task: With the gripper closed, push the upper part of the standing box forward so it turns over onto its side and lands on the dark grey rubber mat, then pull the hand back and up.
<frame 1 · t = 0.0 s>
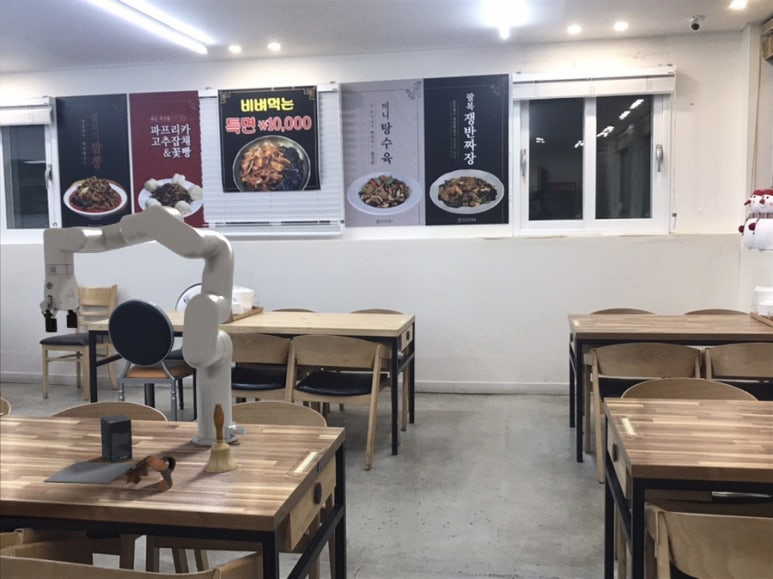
hand: (62, 330, 182), 31 cm above the table, tool pointing down, fingers open, 9 cm apart
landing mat: (92, 473, 153), on the table
hand bell: (220, 468, 157), on the table
box: (117, 458, 165), on the table
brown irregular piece: (154, 486, 145), on the table
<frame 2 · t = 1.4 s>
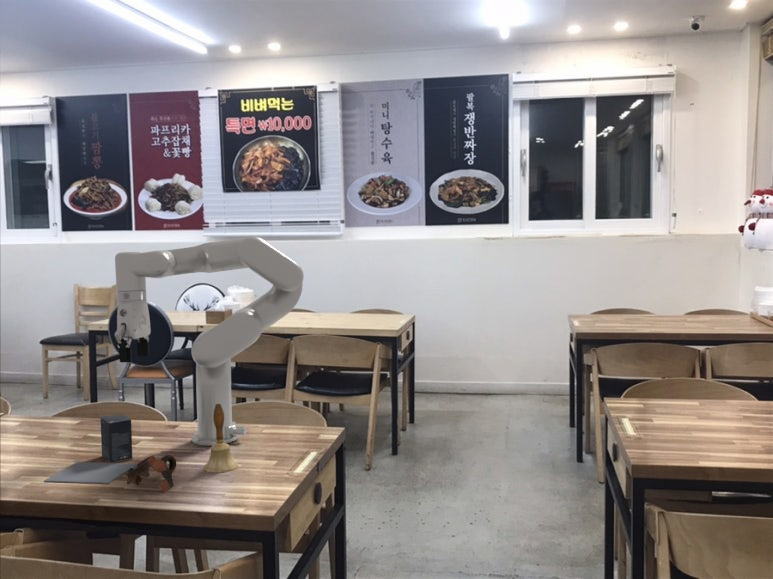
hand: (134, 358, 174), 24 cm above the table, tool pointing down, fingers open, 9 cm apart
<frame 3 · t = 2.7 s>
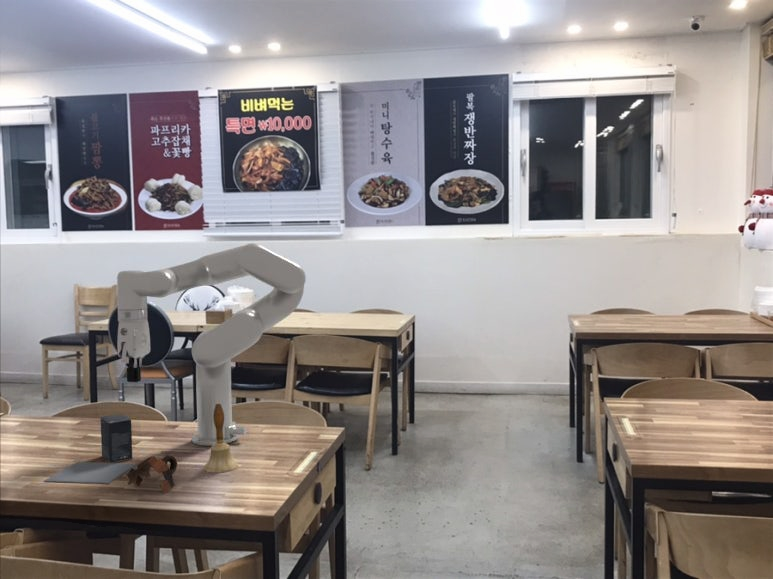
hand: (133, 381, 174), 18 cm above the table, tool pointing down, fingers closed
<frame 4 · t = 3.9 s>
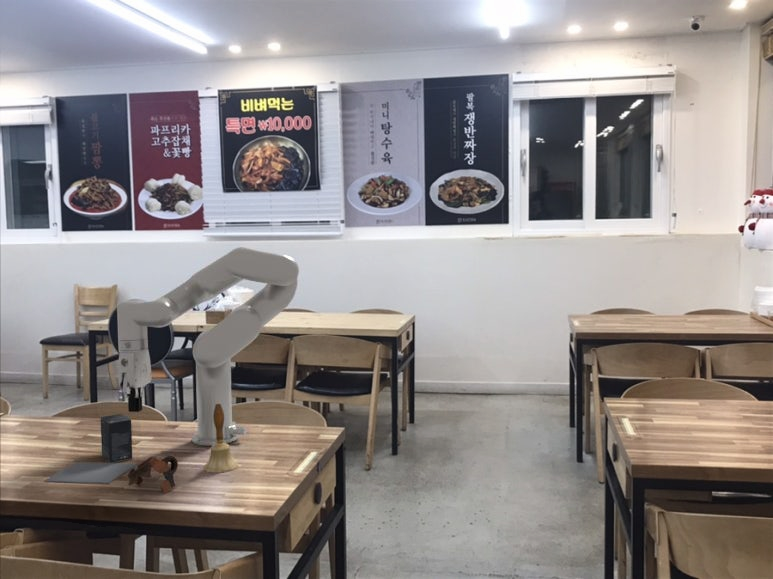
hand: (135, 410, 174), 10 cm above the table, tool pointing down, fingers closed
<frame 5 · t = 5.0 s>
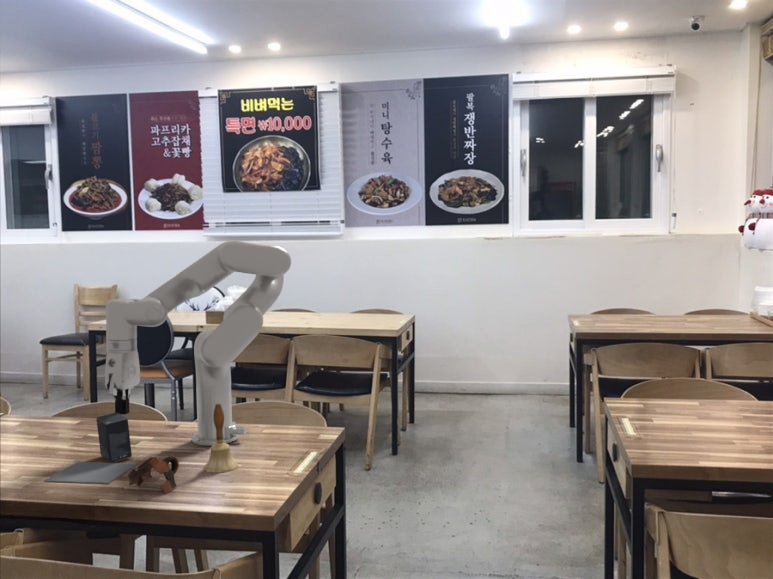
hand: (122, 413, 169), 10 cm above the table, tool pointing down, fingers closed
box: (116, 457, 165), on the table, touching gripper
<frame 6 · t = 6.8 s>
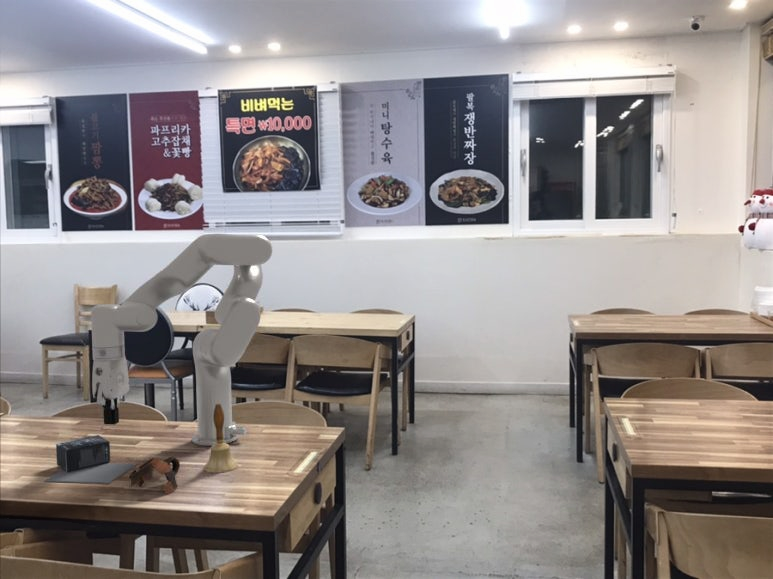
hand: (111, 423, 162), 10 cm above the table, tool pointing down, fingers closed
box: (105, 447, 163), point 3 cm above the table, touching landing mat
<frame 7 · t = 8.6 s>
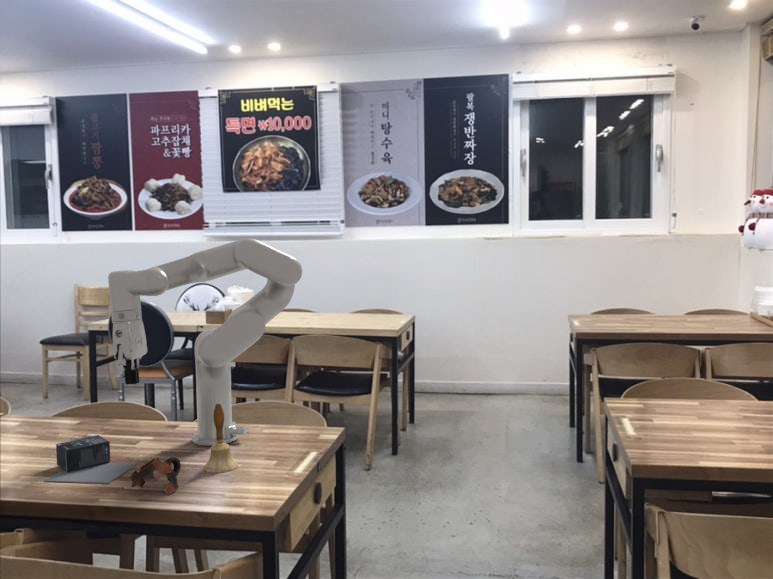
hand: (132, 383, 171), 18 cm above the table, tool pointing down, fingers closed
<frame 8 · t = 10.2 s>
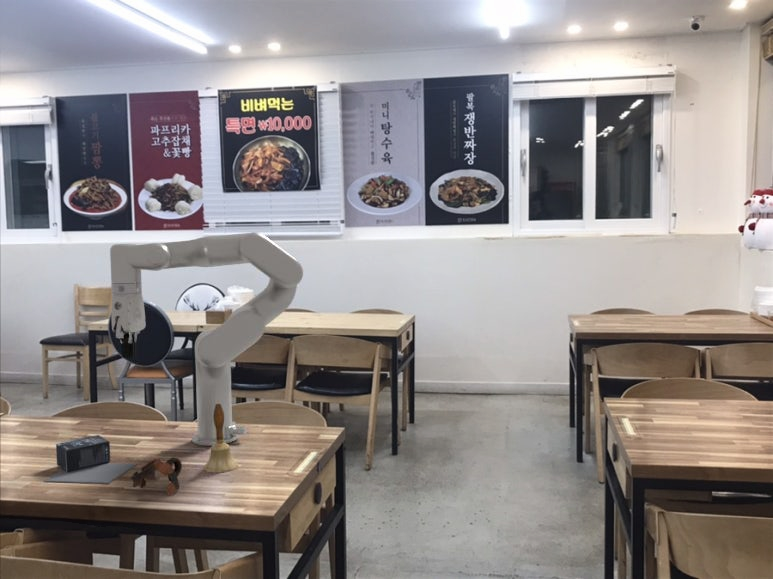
hand: (129, 357, 171), 25 cm above the table, tool pointing down, fingers closed
at the end: box tilted 91°; box inside the target area (3.6 cm from its centre), point 3.2 cm above the table; box touching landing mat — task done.
